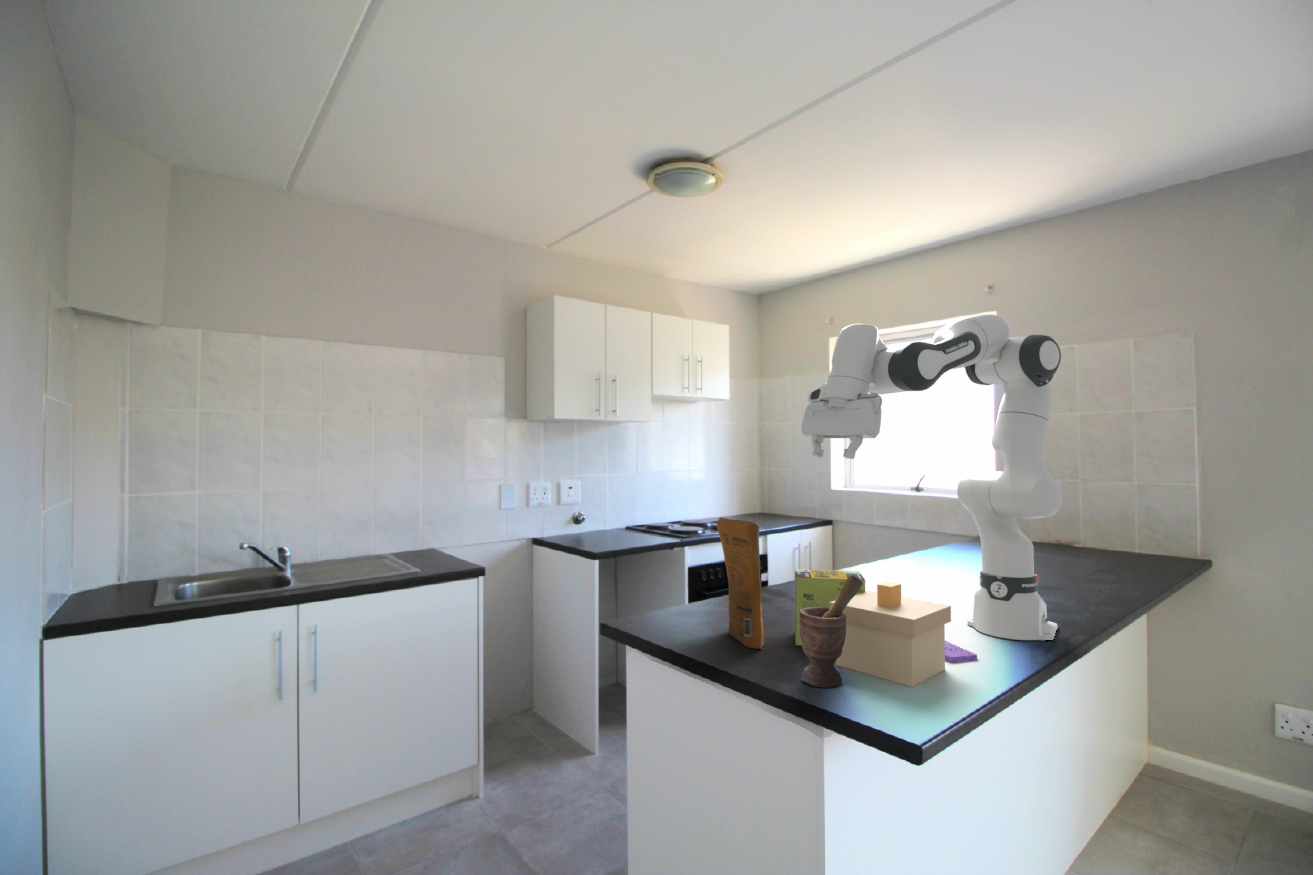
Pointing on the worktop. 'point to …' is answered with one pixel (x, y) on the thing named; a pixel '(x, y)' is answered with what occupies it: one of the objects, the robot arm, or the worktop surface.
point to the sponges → (957, 654)
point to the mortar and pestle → (826, 636)
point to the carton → (893, 653)
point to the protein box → (818, 590)
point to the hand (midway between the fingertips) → (832, 457)
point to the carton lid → (895, 611)
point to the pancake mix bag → (743, 580)
